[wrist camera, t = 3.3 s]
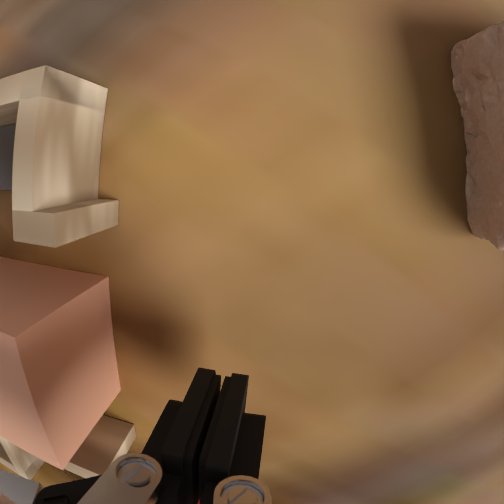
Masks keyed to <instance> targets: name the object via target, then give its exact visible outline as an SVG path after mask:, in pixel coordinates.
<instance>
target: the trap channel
mask: <svg viewBox="0 0 504 504" xmlns="http://www.w3.org/2000/svg"><path fill="white" fill-rule="evenodd" d="M107 91H108V89H107V88H104V87H102V86H99V85H97V84H94V83H92V82H89V81H87V80H84V79H82V78H79V77H76V76H74V75H71V74H68V73H66V72H63V71H60V70H57V69H55V68H52V67H49V66H46V65H45V66H41V67H38V68H34V69H31V70H27V71H24V72H21V73H17V74H14V75H11V76H8V77H5V78H2V79H0V190H12V221H13V240H14V241H17V242H23V243H29V244H35V245H41V246H48V247H54V248H56V247H59V246H62V245H64V244H67V243H70V242H72V241H75V240H78V239H81V238H83V237H86V236H89V235H92V234H95V233H97V232H100V231H103V230H106V229H109V228H112V227H115V226H118V209H119V200H112V199H98V186H99V167H100V153H101V141H102V131H103V121H104V113H105V105H106V98H107ZM11 124H12V125H11ZM6 125H7V126H6ZM1 126H2V127H1ZM135 438H136V433H135V428H134V424H130V423H127V422H124V421H121V420H117V419H114V418H111V417H108V416H105V415H102V416H101V418H100V419H99V421H98V422H97V423H96V425H95V426H94V427H93V429H92V430H91V432H90V433H89V434H88V436H87V437H86V439H85V440H84V441H83V443H82V444H81V445H80V447H79V448H78V450H77V451H76V452H75V454H74V455H73V457H72V458H71V460H70V461H69V462H68V464H67V465H66V467H65V468H64V469H66V470H68V471H70V472H72V473H74V474H77V475H79V476H81V477H84V478H90V477H94V476H98V475H102V474H103V473H104V472H105V471H106V470H107V468H108V467H109V466H110V465H111V464H112V462H113V461H114V460H116V459H117V458H118V457H120V456H122V455H124V454H127V452H128V450H129V448H130V446H131V445H132V443H133V441H134V439H135ZM0 462H1V463H2V464H3V465H5V466H7V467H8V468H10V469H11V470H13V471H14V472H16V473H17V474H19V475H21V476H22V477H24V478H26V479H29V480H31V479H32V478H33V476H34V475H35V474H36V472H37V471H38V470H39V468H40V467H41V466H42V465H43V463H44V462H45V461H43V460H41V459H39V458H37V457H36V456H34V455H32V454H30V453H28V452H26V451H25V450H23V449H21V448H19V447H18V446H16V445H14V444H13V443H11V442H9V441H8V440H6V439H5V438H3V437H1V436H0Z"/></svg>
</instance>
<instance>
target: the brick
mask: <svg viewBox="0 0 504 504" xmlns="http://www.w3.org/2000/svg"><path fill="white" fill-rule="evenodd" d="M451 69H452V72H453V75H454V77H453V79H452V82H453V88H454V92H455V93H456V96H457V98H458V103H459V105H460V107H461V116H462V117H463V120H464V121H463V125H464V131H465V135H464V138H465V142H466V145H467V146H466V148H467V156H466V167H467V176H466V191H465V194H466V201H467V216H468V223H469V226H470V228H471V231H472V234H473V235H475V236H477V237H479V238H481V239H486V240H489V241H490V242H491V243H493V244H494V245H495V247H496V248H497V249H499V250H501V251H504V21H503V22H502V23H501V24H497V25H490V26H489V27H487V28H486V29H485V30H483V31H481V32H479V33H476V34H475V35H473V36H472V37H470V38H469V39H465V40H462V41H460V42H458V43H456V44H455V45H454V47H453V49H452V51H451Z"/></svg>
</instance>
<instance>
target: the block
mask: <svg viewBox="0 0 504 504" xmlns="http://www.w3.org/2000/svg"><path fill="white" fill-rule="evenodd" d="M120 390H121V389H120V382H119V376H118V369H117V362H116V354H115V346H114V338H113V328H112V318H111V306H110V292H109V276H103V275H97V274H91V273H85V272H79V271H74V270H68V269H63V268H57V267H52V266H46V265H41V264H36V263H31V262H26V261H21V260H16V259H11V258H6V257H1V256H0V436H1V437H3V438H5V439H6V440H8V441H9V442H11V443H13V444H14V445H16V446H18V447H19V448H21V449H23V450H25V451H26V452H28V453H30V454H32V455H34V456H36V457H37V458H39V459H41V460H43V461H45V462H47V463H49V464H51V465H53V466H55V467H57V468H59V469H61V470H63V469H64V468H65V467H66V465H67V464H68V462H69V461H70V460H71V458H72V457H73V455H74V454H75V452H76V451H77V450H78V448H79V447H80V445H81V444H82V443H83V441H84V440H85V439H86V437H87V436H88V434H89V433H90V432H91V430H92V429H93V427H94V426H95V425H96V423H97V422H98V421H99V419H100V418H101V416H102V415H103V414H104V412H105V411H106V410H107V408H108V407H109V405H110V404H111V403H112V401H113V400H114V399H115V397H116V396H117V395H118V393H119V392H120Z"/></svg>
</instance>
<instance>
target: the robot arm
mask: <svg viewBox="0 0 504 504" xmlns="http://www.w3.org/2000/svg"><path fill="white" fill-rule="evenodd" d="M248 378H249V375H242V374H235V373H232V376H231V377H227V376H225V379H224V382H223V385H222V388H221V391H220V386H221V375H216V372H215V370H210V369H204V368H198V370H197V372H196V374H195V377H194V379H193V381H192V383H191V385H190V387H189V390H188V392H187V394H186V396H185V398H184V401H183V402H180V401H176V400H169V401H168V403H167V405H166V407H165V409H164V411H163V412H162V414H161V416H160V418H159V420H158V422H157V424H156V426H155V428H154V430H153V432H152V434H151V436H150V438H149V440H148V442H147V443H146V445H145V447H144V449H143V451H142V453H129V454H124V455H122V456H120V457H118V458H117V459H116V460H114V461H113V462H112V464H111V465H110V466H109V467H108V468H107V470H106V471H105V472H104V473H103V474H102V475H98V476H94V477H90V478H85V479H81V480H76V481H72V482H67V483H62V484H56V485H51V486H48V487H43V486H41V484H40V483H38V482H35V481H32V480H29V479H26V478H23V477H20V476H17V475H15V474H12V473H9V472H7V471H4V470H1V469H0V504H198V501H199V498H200V504H272V500H271V494H270V491H269V489H268V487H267V486H266V485H265V484H264V483H263V482H261V481H260V480H258V477H259V469H260V461H261V453H262V445H263V437H264V428H265V420H266V416H264V415H256V414H249V413H245V405H246V396H247V387H248Z"/></svg>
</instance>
